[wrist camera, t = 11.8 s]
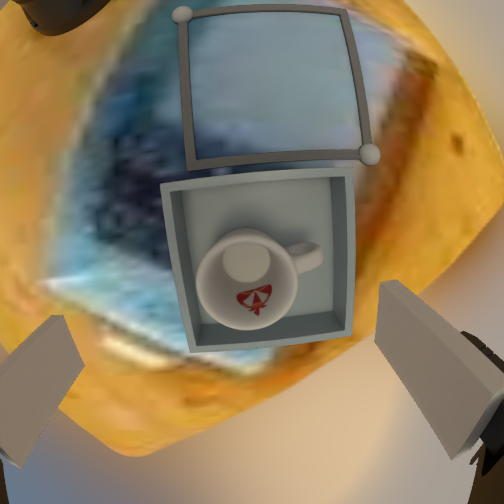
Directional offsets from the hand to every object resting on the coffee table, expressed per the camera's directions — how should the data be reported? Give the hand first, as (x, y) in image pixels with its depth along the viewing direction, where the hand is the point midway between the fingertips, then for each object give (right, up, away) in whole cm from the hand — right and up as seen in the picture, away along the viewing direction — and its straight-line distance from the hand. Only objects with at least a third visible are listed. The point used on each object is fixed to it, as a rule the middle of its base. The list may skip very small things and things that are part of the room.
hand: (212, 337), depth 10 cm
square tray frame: (+4, +22, +15) cm, 26 cm away
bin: (+3, +3, +20) cm, 20 cm away
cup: (+2, +3, +19) cm, 19 cm away
